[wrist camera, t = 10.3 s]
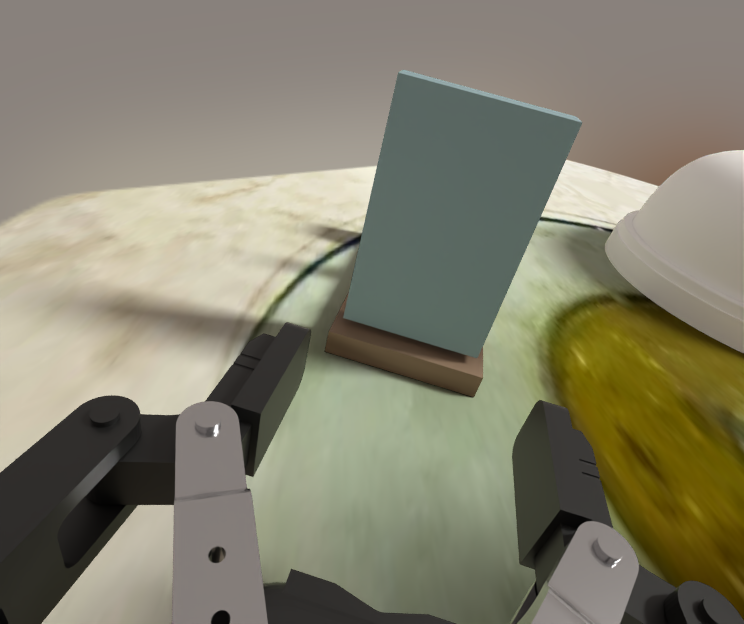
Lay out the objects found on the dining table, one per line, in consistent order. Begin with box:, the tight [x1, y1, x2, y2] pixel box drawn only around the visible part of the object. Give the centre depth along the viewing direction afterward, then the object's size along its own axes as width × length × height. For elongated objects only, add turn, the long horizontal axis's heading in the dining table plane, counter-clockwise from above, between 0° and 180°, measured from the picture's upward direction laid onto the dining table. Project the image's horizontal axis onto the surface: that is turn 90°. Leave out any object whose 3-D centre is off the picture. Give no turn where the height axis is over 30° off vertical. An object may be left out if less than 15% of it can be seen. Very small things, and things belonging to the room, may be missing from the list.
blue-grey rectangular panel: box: [343, 70, 582, 358], centre depth 25 cm, size 4×8×13 cm, turn 78°
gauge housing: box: [325, 292, 483, 397], centre depth 33 cm, size 18×9×6 cm, turn 168°
